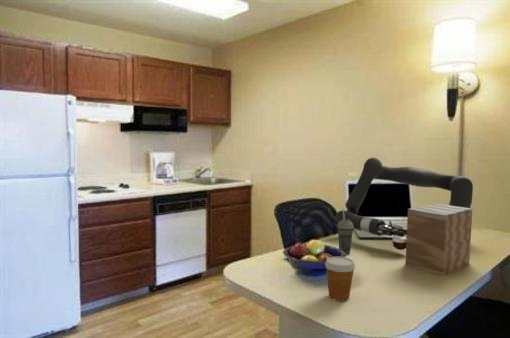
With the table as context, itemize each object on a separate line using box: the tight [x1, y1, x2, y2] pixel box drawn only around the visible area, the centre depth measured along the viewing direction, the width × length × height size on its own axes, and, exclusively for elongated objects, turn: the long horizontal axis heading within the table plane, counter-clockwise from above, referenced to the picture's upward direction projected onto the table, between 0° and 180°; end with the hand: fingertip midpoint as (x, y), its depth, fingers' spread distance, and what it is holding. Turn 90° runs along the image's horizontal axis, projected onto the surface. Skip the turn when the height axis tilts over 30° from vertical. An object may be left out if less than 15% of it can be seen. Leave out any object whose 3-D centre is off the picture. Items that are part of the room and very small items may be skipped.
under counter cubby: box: [405, 202, 473, 276], centre depth 151 cm, size 23×15×23 cm, turn 128°
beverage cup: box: [336, 208, 355, 256], centre depth 164 cm, size 7×7×20 cm
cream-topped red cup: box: [388, 219, 407, 251], centre depth 164 cm, size 10×6×12 cm, turn 38°
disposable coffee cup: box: [325, 256, 356, 302], centre depth 119 cm, size 10×10×12 cm
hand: (406, 233), depth 162 cm, fingers closed on cream-topped red cup, 4 cm apart
